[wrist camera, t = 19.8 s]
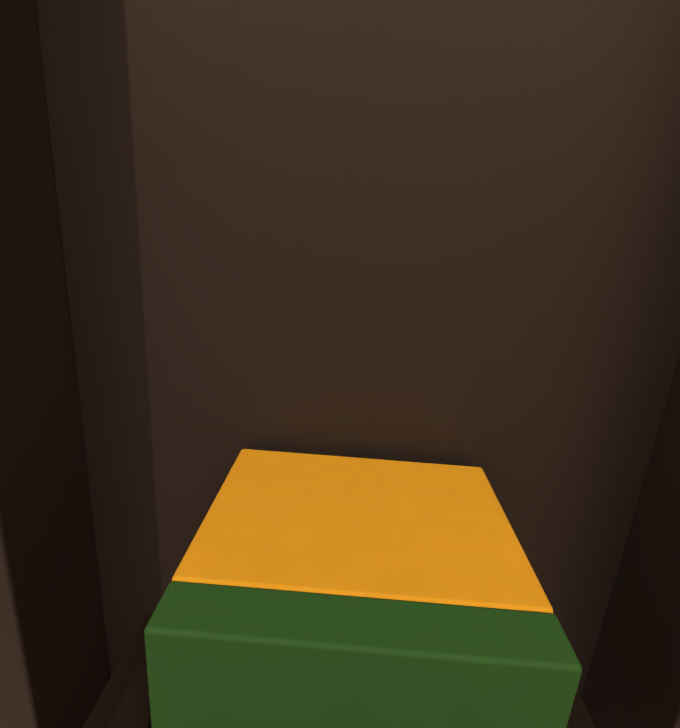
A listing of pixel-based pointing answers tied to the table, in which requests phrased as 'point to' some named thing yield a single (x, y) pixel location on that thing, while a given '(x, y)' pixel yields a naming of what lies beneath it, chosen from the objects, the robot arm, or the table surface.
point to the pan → (337, 299)
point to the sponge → (356, 605)
